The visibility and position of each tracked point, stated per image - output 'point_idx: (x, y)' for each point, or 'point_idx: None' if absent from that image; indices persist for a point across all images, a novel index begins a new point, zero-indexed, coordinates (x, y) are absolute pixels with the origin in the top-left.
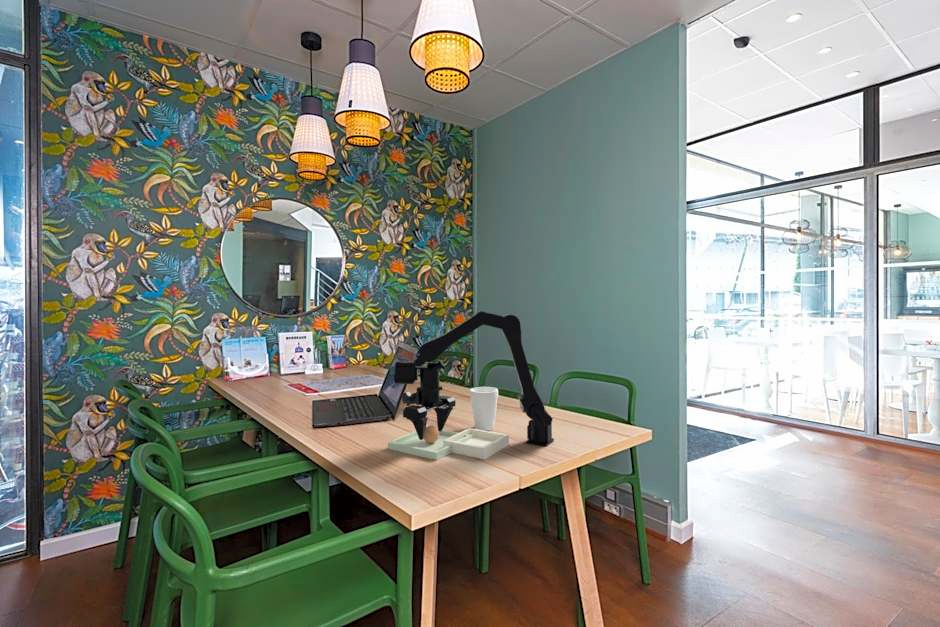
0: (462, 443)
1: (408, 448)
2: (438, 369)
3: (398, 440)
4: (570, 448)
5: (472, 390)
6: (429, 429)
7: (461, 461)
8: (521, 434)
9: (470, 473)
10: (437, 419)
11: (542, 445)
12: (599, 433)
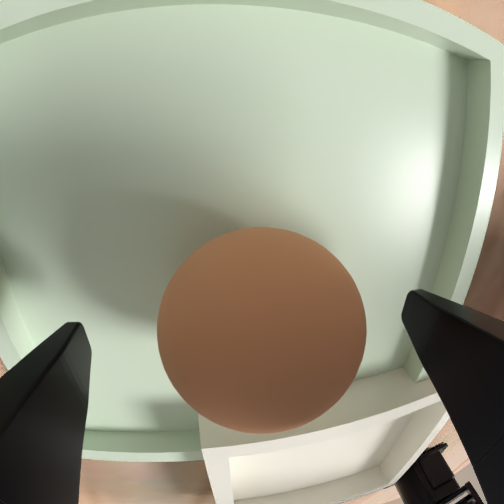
0: (224, 498)
1: None
2: None
3: (34, 22)
4: (379, 497)
5: None
6: (212, 418)
7: (148, 475)
8: None
9: (103, 500)
10: (498, 349)
11: None
12: (462, 459)
